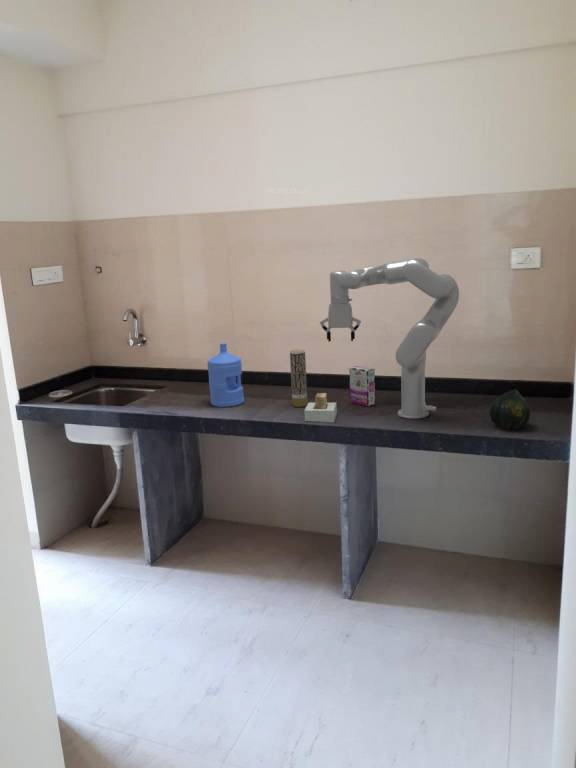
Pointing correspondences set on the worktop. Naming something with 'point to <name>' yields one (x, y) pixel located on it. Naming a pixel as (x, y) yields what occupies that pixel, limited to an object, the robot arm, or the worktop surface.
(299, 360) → the paper tube
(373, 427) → the worktop surface
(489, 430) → the worktop surface
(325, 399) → the maple key peg
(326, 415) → the sage socket block
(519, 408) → the squash
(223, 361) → the water jug
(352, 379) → the candy bar box
